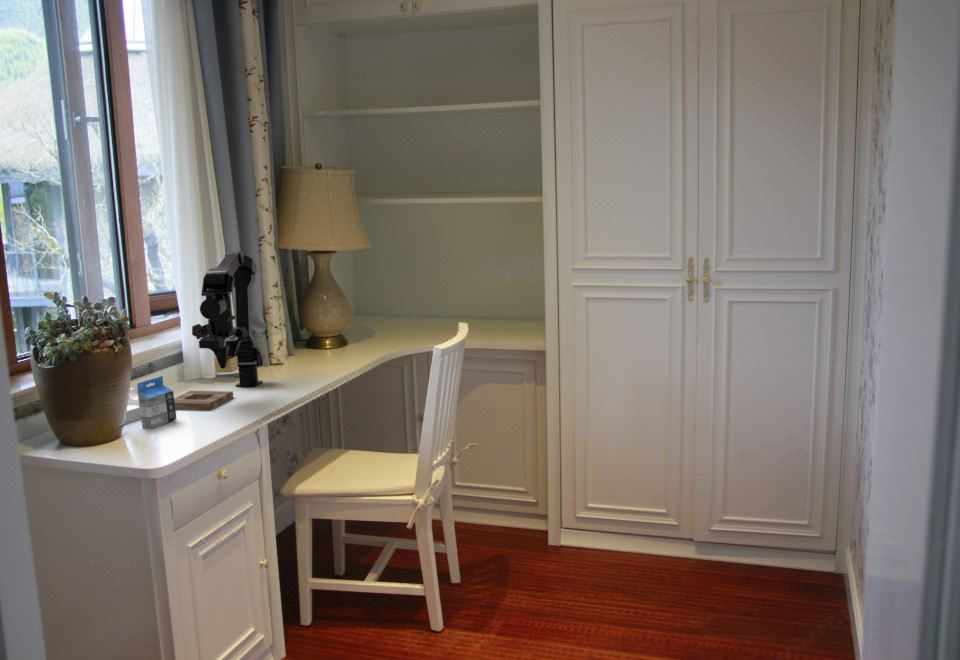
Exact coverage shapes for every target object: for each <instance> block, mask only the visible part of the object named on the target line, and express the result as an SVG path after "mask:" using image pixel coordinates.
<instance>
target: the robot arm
mask: <svg viewBox="0 0 960 660" xmlns="http://www.w3.org/2000/svg"><path fill="white" fill-rule="evenodd" d="M257 267H258V266H257V263H256V262H255V260H254V259H253V258H251V257H250V256H248V255H245V253H244V252H243V251H241V250H239V251H226V252H225V254H224V257H223V259H222V260H221V261H220V263H219V264H218V265H217V267H213V268H209V269H208V270H207V271H206V272H205V274H204V275H203V279H202V287H201V296H202V297H205V300H203V301H202V302H201V304H200V305H199V312H200V314H201V317H204V319H207V323H206V324H204V325H202V324H201V323H198V324H197V323H196V324H195V325H192V326H191V332H192V333H191V335H192V336H194V337H196V341H198V348H199V349H209V350H210V351H212V352H213V354H214V356H215V358H217V360H218V362H219V365H220V367H221V368H225V366H226V361H227V356H237V361H238V378H239V379H238V380H239V382H238V383H236V384H235V387H246V388H247V387H251V388H252V387H253V388H254V387H256V386H258V385H260V384H262V383H263V380H259V373H258V368H259V367H260V366H263V365H264V359H263V358H264V357H263V355H262V353H261V351H260V349H259V347H258V342H257V340H256V339H255V337H254V335H253V334H252V333H253V332H252V330H253V329H252V299H251V288H252V286H253V285H254V283H255V282H256V275H257V272H258V270H257ZM233 291H235V293H234V294H235V296H234V297H235V298H234V299H235V315H233V311H232V299H231V294H232V292H233ZM234 320H235V323H236V324H235V326H234V322H233V321H234Z"/></svg>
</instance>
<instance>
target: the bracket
mask: <svg viewBox="0 0 960 660" xmlns="http://www.w3.org/2000/svg"><path fill="white" fill-rule="evenodd" d="M129 388H130V393H129V399H128V406H127V412H126V419H125V421H124V424H123V425H126V424H129V423H132V422H135V421H138V420H141V413H140V406H139V398H138V392H137V391H136V388H135V387H129Z"/></svg>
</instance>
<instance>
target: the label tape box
mask: <svg viewBox="0 0 960 660" xmlns="http://www.w3.org/2000/svg"><path fill="white" fill-rule="evenodd" d="M150 384H153V385H150ZM148 385H149V386H148ZM136 386H137V395H138V398H139V406H140V413H141V419H140V420H141V427H142V428H143V429H155V428H158V427H161V426H163V425H166V424H169V423H172V422H175V421H177V410H175V402H174V398H175V396H174V391H173V390H172V389H171V388H170V387H167V386H166V385H164V376H163V375H162V376H158V377H155V378H151V379H148V380H147V379H146V380H145V381H142V382H138V383H137V385H136Z"/></svg>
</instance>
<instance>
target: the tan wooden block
mask: <svg viewBox="0 0 960 660" xmlns="http://www.w3.org/2000/svg"><path fill="white" fill-rule="evenodd" d="M214 365H215V367H214V368H215V373H233V372H236V371H239V369H238V361H237V356H227V361H226V366H225V368H221V367H220V365H219V362H218V360H217V358H216V357H215V358H214Z"/></svg>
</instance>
